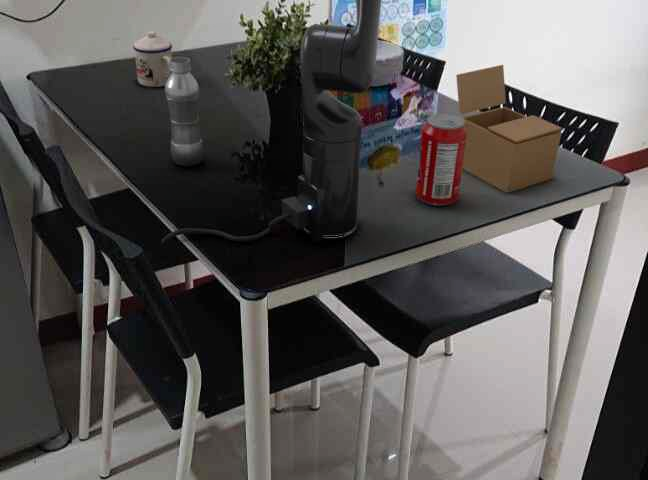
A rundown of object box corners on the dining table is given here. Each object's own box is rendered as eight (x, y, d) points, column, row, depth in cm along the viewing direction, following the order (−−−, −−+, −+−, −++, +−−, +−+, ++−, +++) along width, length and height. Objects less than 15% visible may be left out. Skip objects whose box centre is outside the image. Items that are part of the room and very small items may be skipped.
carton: (453, 163, 155) (460, 113, 149) (497, 151, 161) (505, 102, 155) (506, 193, 145) (516, 140, 139) (551, 178, 151) (562, 127, 145)
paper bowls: (371, 95, 185) (373, 62, 181) (327, 78, 194) (328, 46, 190) (414, 82, 194) (417, 50, 189) (370, 66, 203) (372, 35, 198)
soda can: (435, 212, 138) (444, 132, 129) (405, 196, 143) (413, 117, 134) (466, 201, 142) (478, 122, 133) (437, 185, 147) (446, 108, 138)
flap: (460, 114, 149) (459, 114, 149) (505, 103, 155) (504, 103, 155) (457, 74, 146) (456, 74, 147) (503, 64, 152) (501, 64, 152)
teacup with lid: (129, 80, 190) (123, 31, 183) (161, 72, 195) (156, 24, 188) (158, 94, 183) (153, 43, 176) (189, 85, 188) (186, 35, 181)
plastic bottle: (173, 171, 149) (163, 67, 137) (169, 157, 154) (159, 55, 143) (207, 168, 151) (200, 64, 139) (202, 154, 156) (195, 53, 144)
